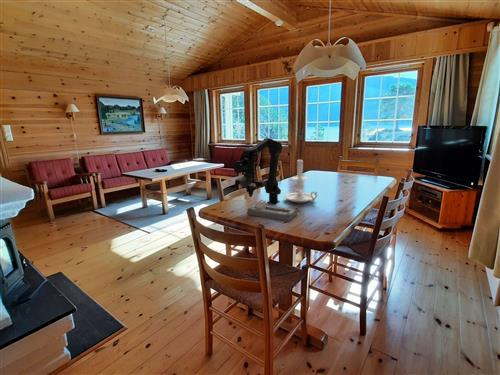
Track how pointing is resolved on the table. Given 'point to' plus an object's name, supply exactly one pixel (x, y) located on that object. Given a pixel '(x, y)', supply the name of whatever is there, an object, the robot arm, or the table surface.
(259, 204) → the fader knob
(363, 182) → the table surface
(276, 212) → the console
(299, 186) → the candlestick
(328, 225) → the table surface
